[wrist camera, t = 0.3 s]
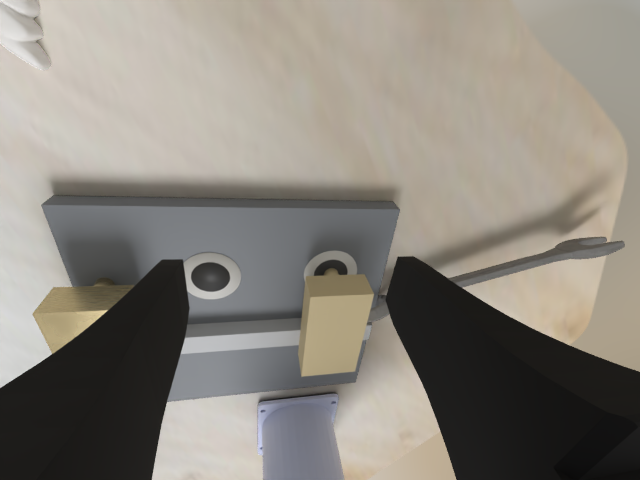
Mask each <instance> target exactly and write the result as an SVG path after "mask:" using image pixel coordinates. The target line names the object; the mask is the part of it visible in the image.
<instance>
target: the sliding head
mask: <svg viewBox="0 0 640 480" xmlns="http://www.w3.org/2000/svg"><path fill="white" fill-rule="evenodd" d="M133 287H134V285H115V283H114V282H113V281H112V280H111V279H109V278H105V277H102V278H99V279H97V280H96V282H95V284H94V285H93V286H84V287H54V288H53V289H52V290H51V291H50V292H49V294H48V295H47V296H46V297H45V299H44V300H43V301H42V302H41V304H40V305H39V306H38V307H37V309H36V310H35V311H34V312H33V316H34V318H35V320H36V322H37V324H38V326H39V328H40V330H41V332H42V334H43V336H44V338H45V340H46V342H47V344H48V346H49V348H50V350H51V352H52V354H53V353H55V352H56V351H57V350H59V349H60V348H61V347H63V346H64V345H66V344H67V343H68V342H70V341H71V340H72V339H74V338H75V337H76V336H78V335H79V334H80V333H82V332H83V331H84V330H85V329H87V328H88V327H89V326H90V325H91V324H93V323H94V322H95V321H96V320H97V319H98V318H100V317H101V316H102V315H103V314H104V313H106V312H107V311H108V310H109V309H110V308H111V307H112V306H114V305H115V304H116V303H117V302H118V301H119V300H120V299H121V298H122V297H123V296H124V295H125V294H127V293H128V292H129V291H130V290H131V289H132V288H133Z"/></svg>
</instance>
